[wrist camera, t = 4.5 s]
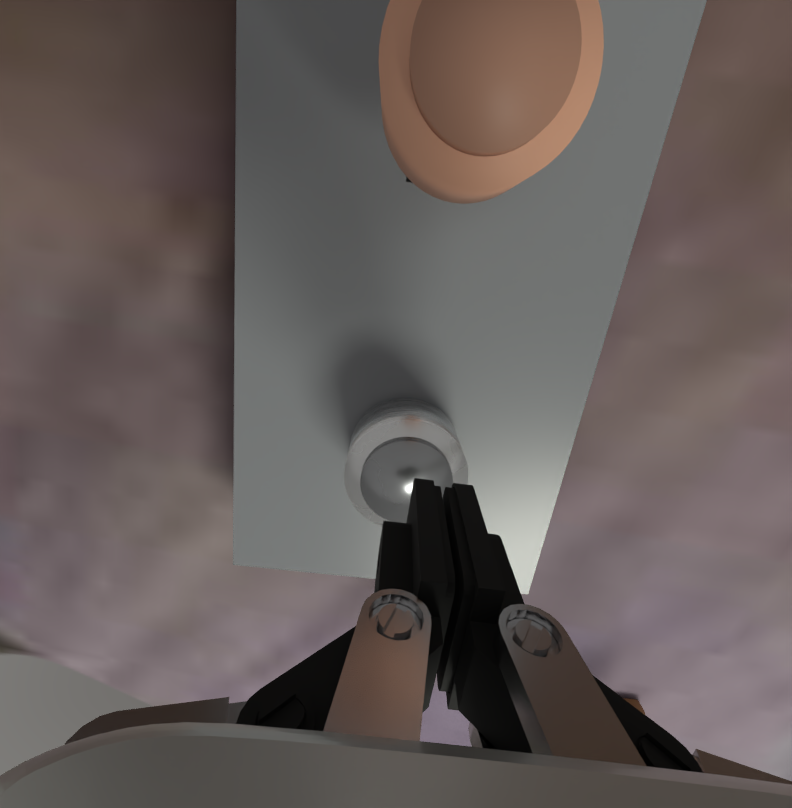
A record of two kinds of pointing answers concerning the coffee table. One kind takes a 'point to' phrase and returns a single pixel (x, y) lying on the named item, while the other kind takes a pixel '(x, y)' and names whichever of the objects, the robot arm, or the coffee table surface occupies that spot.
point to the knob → (400, 457)
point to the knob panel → (419, 279)
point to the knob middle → (485, 89)
